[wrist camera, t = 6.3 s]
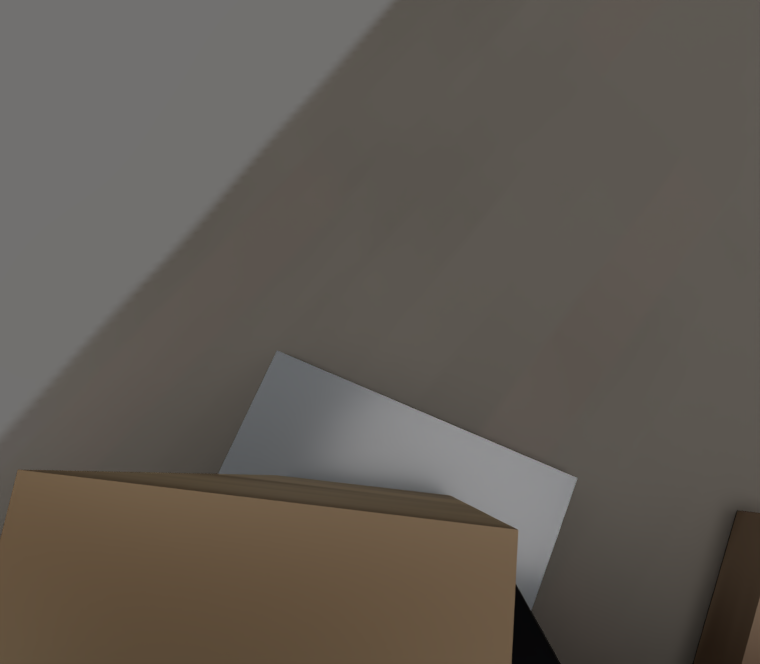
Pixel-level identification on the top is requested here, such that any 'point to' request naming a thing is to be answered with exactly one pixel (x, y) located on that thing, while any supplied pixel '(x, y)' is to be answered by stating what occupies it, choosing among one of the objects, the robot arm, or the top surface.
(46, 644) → the oak block
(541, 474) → the slate tile
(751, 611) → the walnut ledge
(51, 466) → the top surface
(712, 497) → the top surface
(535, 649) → the robot arm
